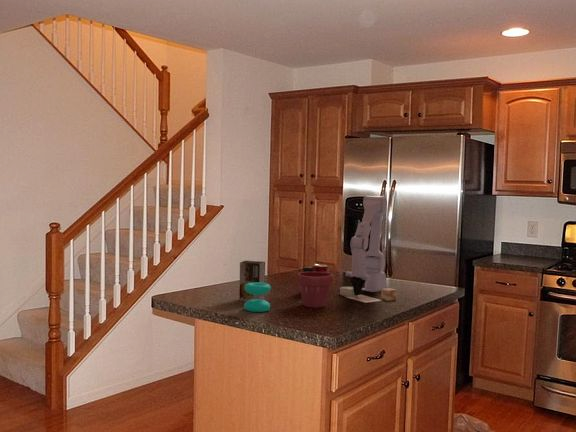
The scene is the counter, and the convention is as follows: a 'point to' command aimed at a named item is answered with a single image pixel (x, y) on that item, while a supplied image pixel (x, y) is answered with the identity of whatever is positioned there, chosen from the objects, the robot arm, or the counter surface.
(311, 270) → the supplement bottle
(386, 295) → the maple block
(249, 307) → the donuts
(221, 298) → the counter surface
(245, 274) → the coffee box
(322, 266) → the soda can
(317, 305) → the plant pot
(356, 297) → the letter
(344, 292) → the puck
